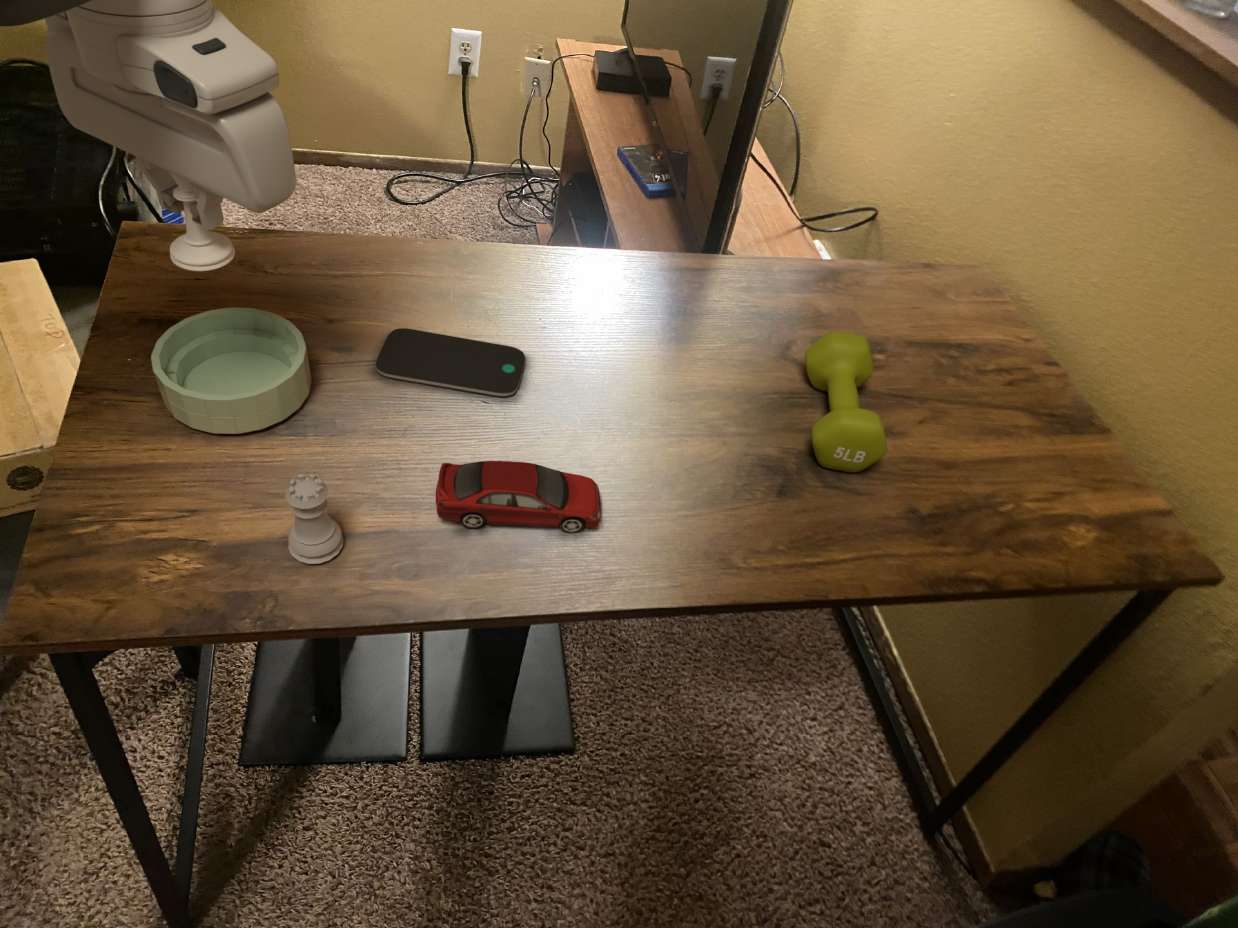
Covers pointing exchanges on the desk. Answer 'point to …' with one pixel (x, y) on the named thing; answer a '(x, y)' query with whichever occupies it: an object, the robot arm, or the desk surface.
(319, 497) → the rook chess piece
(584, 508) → the toy car
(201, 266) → the chess piece
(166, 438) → the desk surface
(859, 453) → the dumbbell
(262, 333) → the bowl
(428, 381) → the smartphone
